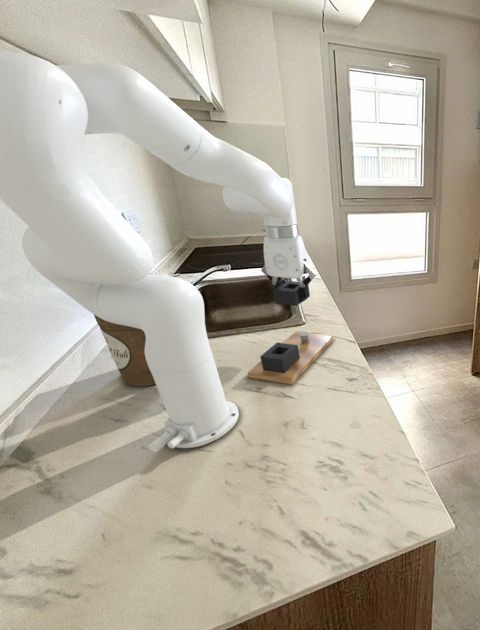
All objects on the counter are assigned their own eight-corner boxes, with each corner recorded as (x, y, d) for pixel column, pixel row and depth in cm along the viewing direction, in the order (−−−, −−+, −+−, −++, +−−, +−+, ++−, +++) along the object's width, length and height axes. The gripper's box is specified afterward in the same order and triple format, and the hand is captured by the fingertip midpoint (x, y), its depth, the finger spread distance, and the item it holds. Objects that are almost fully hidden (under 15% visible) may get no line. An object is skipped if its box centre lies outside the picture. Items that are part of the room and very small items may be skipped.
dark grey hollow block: (296, 306, 86) (294, 291, 85) (276, 303, 87) (273, 289, 86) (310, 296, 92) (308, 282, 91) (290, 294, 94) (288, 280, 92)
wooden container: (124, 365, 86) (88, 285, 76) (191, 347, 94) (167, 273, 84) (121, 395, 75) (80, 306, 65) (198, 372, 83) (171, 291, 74)
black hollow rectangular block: (284, 373, 81) (282, 359, 79) (263, 369, 82) (260, 356, 80) (299, 358, 87) (297, 345, 86) (279, 355, 88) (277, 342, 87)
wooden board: (292, 384, 80) (289, 370, 78) (248, 377, 82) (245, 364, 80) (332, 340, 99) (331, 328, 97) (296, 335, 101) (294, 324, 99)
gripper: (241, 232, 80) (256, 300, 88) (306, 237, 77) (315, 307, 85) (261, 226, 87) (273, 290, 95) (321, 230, 84) (328, 296, 91)
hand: (293, 297), depth 90 cm, fingers closed on dark grey hollow block, 6 cm apart
